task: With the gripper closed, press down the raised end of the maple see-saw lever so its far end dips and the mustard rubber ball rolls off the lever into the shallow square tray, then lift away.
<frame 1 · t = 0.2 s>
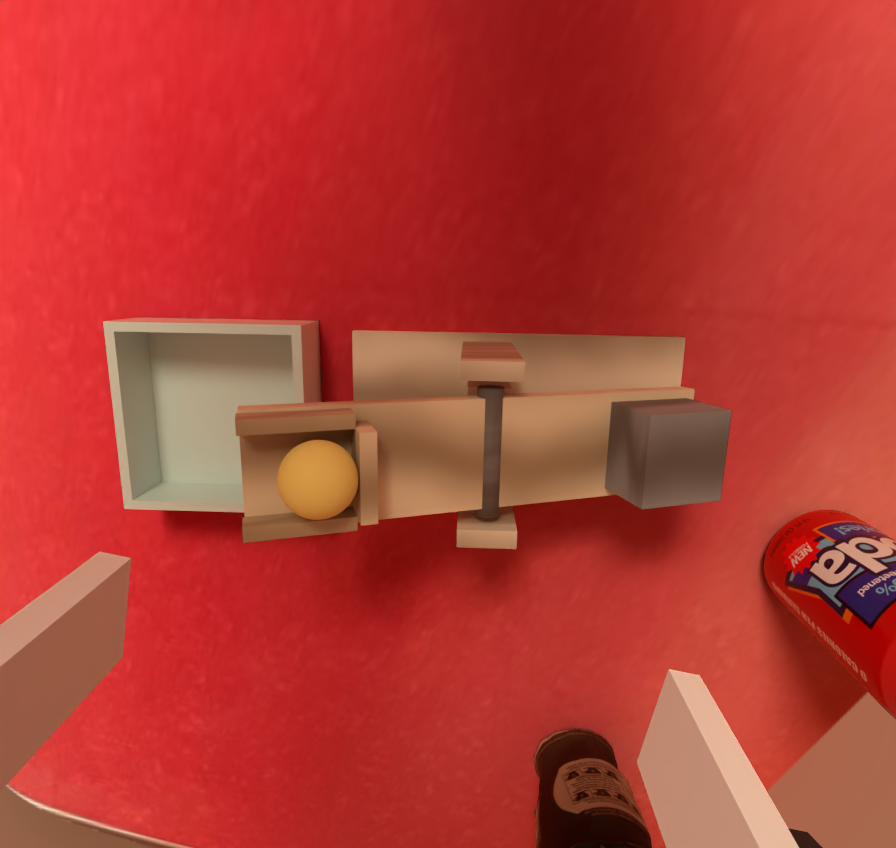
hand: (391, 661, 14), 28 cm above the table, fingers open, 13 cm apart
shallow square tray: (235, 406, 42), on the table
coffee cup: (573, 755, 48), on the table
ball: (318, 479, 27), point 15 cm above the table, touching lever
catapult base: (484, 412, 42), on the table
soda can: (811, 554, 44), on the table
lever: (499, 460, 31), point 12 cm above the table, hinge at -20.0°, touching ball
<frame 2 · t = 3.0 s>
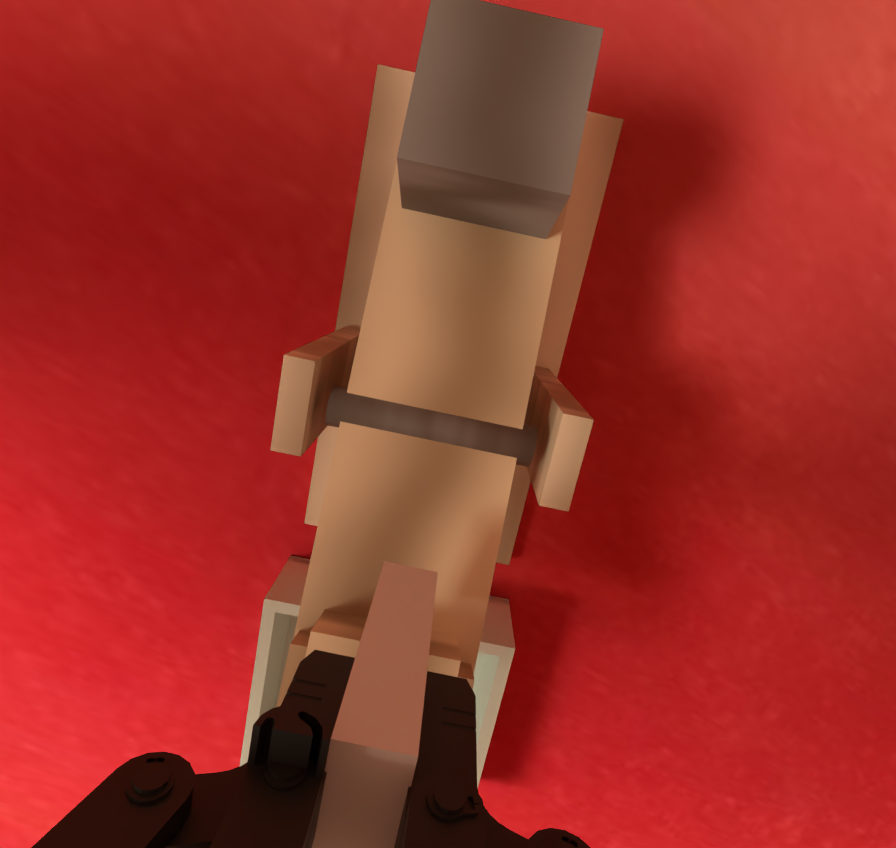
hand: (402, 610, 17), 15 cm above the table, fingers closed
shallow square tray: (380, 671, 35), on the table
catapult base: (442, 376, 30), on the table
lever: (432, 425, 19), point 12 cm above the table, hinge at -17.2°, touching ball, gripper
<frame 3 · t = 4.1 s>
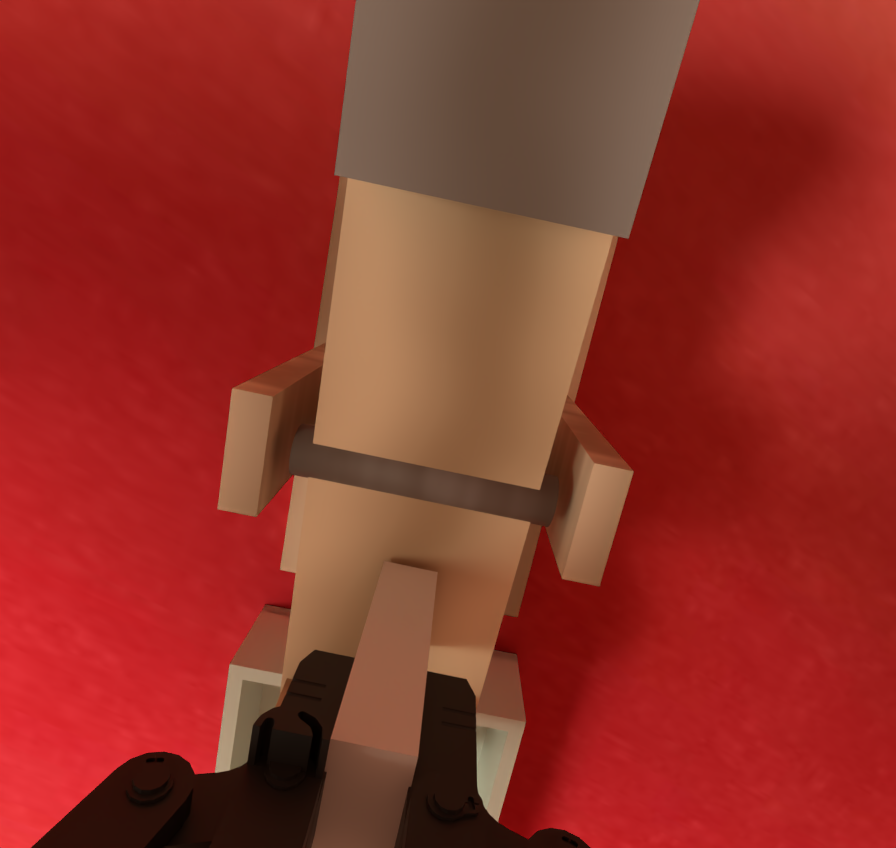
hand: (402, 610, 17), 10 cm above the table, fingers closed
shallow square tray: (369, 735, 30), on the table
catapult base: (439, 400, 26), on the table
lever: (418, 506, 15), point 12 cm above the table, hinge at 6.9°, touching gripper
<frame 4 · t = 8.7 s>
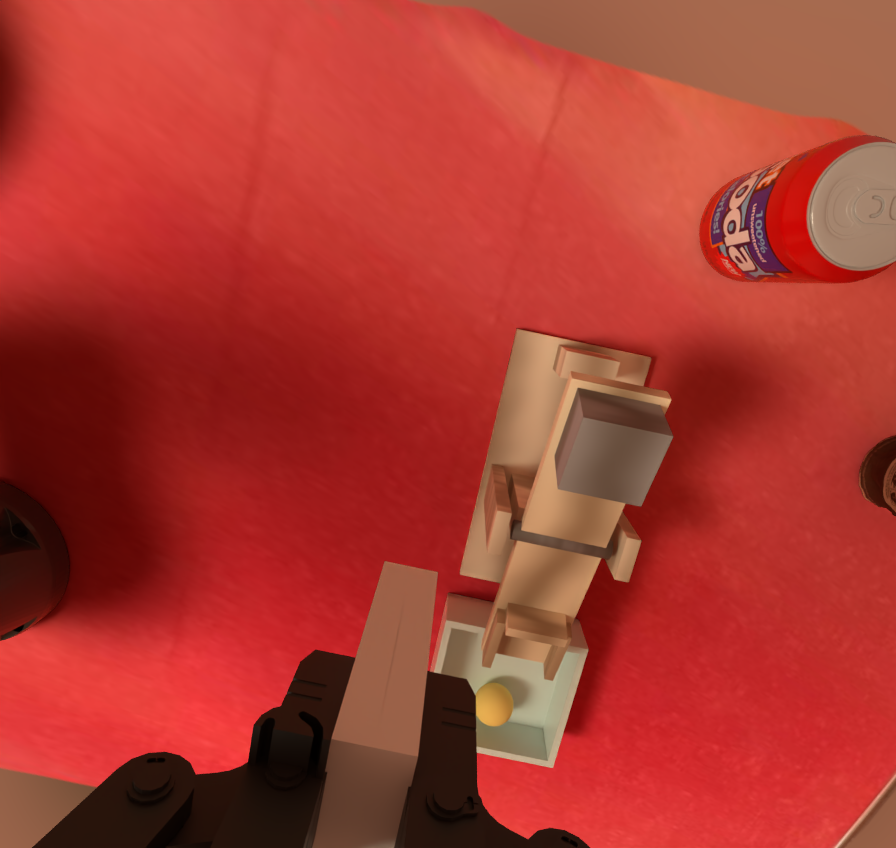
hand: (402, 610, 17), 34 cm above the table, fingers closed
shallow square tray: (498, 663, 56), on the table
coffee cup: (891, 470, 51), on the table
ball: (493, 704, 54), point 2 cm above the table, tilted 39°, touching shallow square tray
catapult base: (544, 490, 52), on the table
soda can: (745, 229, 47), on the table
lever: (562, 556, 41), point 12 cm above the table, hinge at 17.6°
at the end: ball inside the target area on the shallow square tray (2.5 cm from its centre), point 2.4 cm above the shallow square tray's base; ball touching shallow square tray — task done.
